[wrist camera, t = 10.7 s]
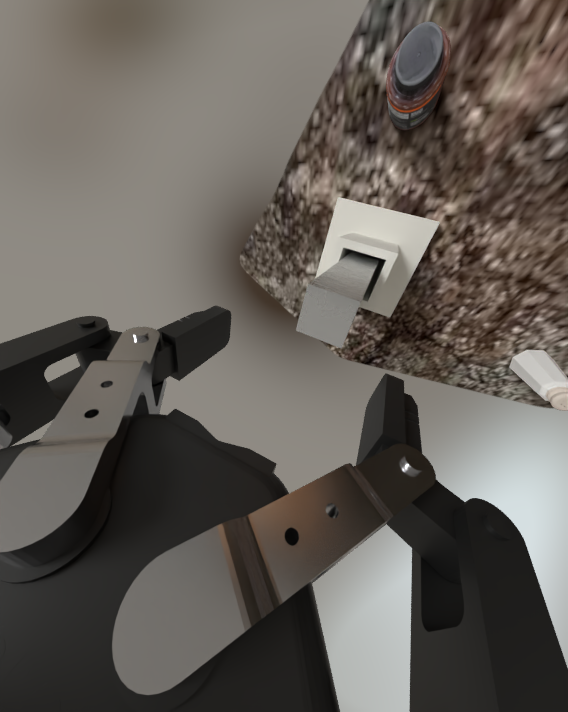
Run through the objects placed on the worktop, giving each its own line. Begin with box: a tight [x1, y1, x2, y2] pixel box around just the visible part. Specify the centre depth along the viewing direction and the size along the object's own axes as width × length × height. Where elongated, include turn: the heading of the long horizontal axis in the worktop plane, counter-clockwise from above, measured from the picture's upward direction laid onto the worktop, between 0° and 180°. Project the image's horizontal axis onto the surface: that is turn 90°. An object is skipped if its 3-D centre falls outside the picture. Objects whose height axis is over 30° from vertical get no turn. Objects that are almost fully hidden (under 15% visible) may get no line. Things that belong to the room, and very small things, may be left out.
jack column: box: [296, 251, 380, 348], centre depth 26 cm, size 4×4×22 cm
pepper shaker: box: [509, 350, 568, 411], centre depth 35 cm, size 5×5×11 cm
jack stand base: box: [315, 197, 440, 317], centre depth 36 cm, size 16×16×15 cm
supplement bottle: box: [386, 22, 451, 130], centre depth 26 cm, size 6×6×11 cm
